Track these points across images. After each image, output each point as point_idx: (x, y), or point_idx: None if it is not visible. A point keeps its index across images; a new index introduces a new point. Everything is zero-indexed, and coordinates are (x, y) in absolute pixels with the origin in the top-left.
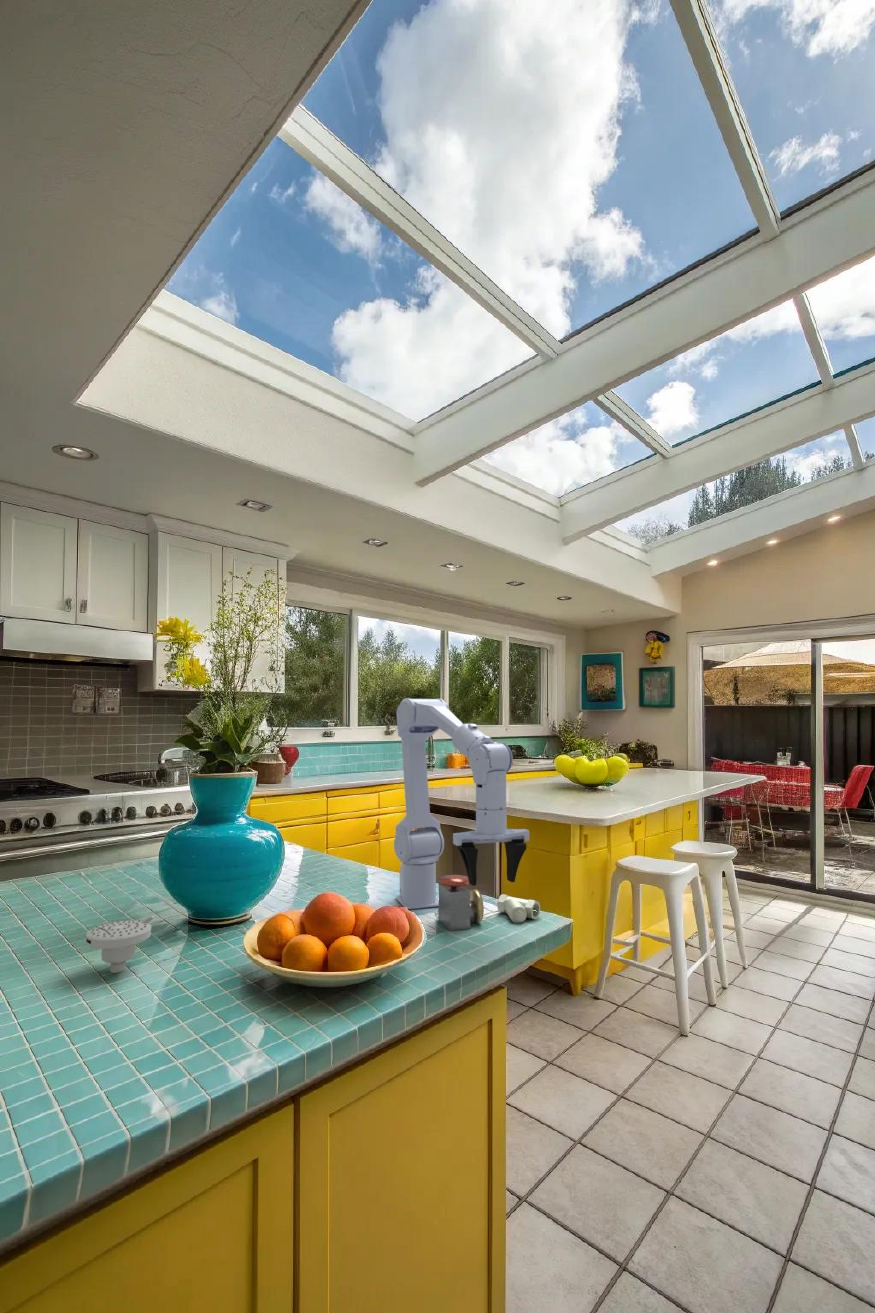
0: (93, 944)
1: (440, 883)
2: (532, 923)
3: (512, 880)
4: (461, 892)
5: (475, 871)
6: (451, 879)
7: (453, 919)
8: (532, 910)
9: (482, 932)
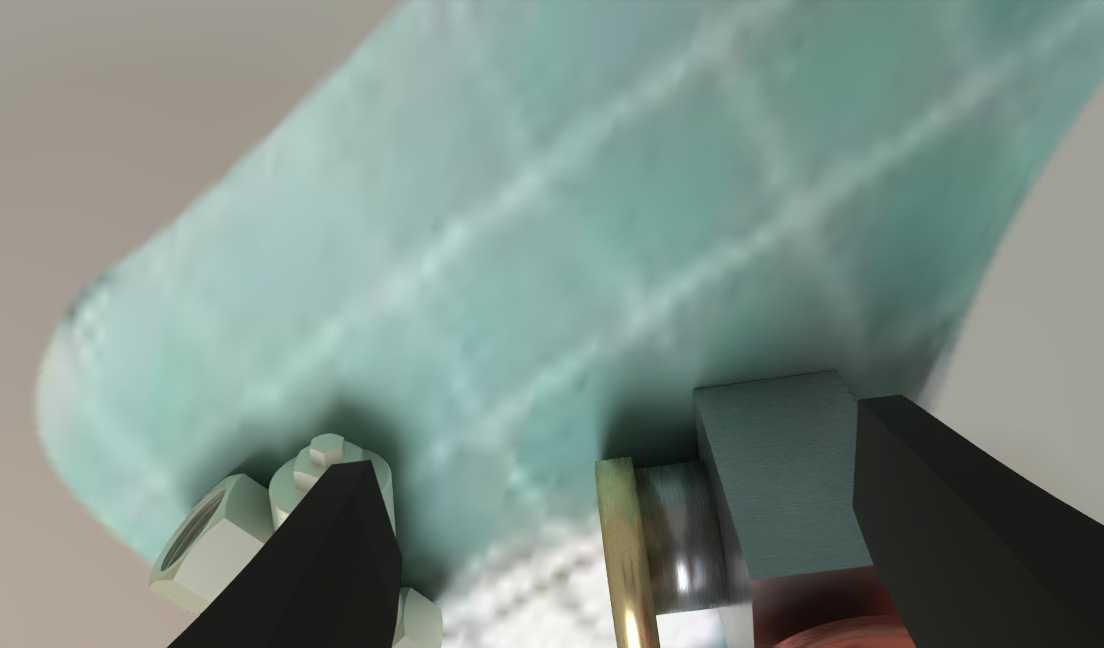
0: None
1: None
2: (249, 422)
3: (354, 472)
4: (833, 562)
5: (971, 496)
6: None
7: (836, 415)
8: (218, 508)
9: (632, 312)
